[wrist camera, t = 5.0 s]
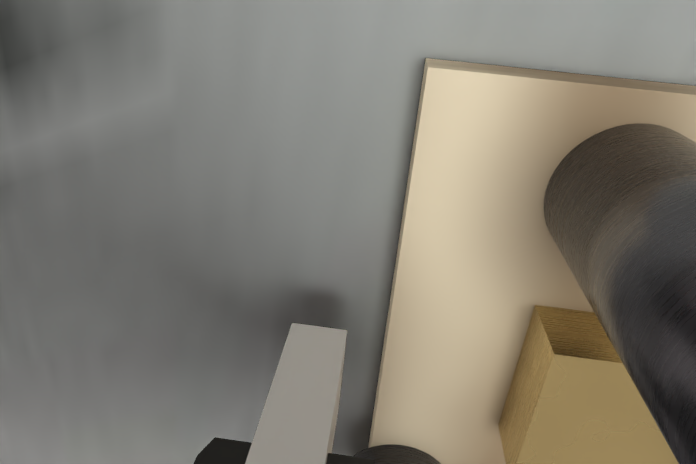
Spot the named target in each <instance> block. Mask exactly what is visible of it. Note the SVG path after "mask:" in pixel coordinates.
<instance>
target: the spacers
mask: <svg viewBox="0 0 696 464" xmlns="http://www.w3.org/2000/svg"><path fill="white" fill-rule="evenodd" d="M543 209H544V218H545V222H546V225H547V228H548V230H549V232H550V234H551V236H552V238H553V240H554V241H555V243H556V245H557V247H558V248H559V250H560V252H561V254H562V256H563V257H564V259H565V261H566V263H567V265H568V266H569V268H570V270H571V272H572V274H573V275H574V277H575V279H576V281H577V282H578V284H579V286H580V288H581V290H582V291H583V293H584V295H585V297H586V299H587V300H588V302H589V304H590V306H591V308H592V309H593V311H594V313H595V315H596V316H597V318H598V320H599V322H600V324H601V325H602V327H603V329H604V331H605V333H606V334H607V336H608V338H609V340H610V342H611V343H612V345H613V347H614V349H615V350H616V352H617V354H618V356H619V358H620V359H621V361H622V363H623V365H624V367H625V368H626V370H627V372H628V374H629V376H630V377H631V379H632V381H633V383H634V384H635V386H636V388H637V390H638V392H639V393H640V395H641V397H642V399H643V401H644V402H645V404H646V406H647V408H648V410H649V411H650V413H651V415H652V417H653V418H654V420H655V422H656V424H657V426H658V427H659V429H660V431H661V433H662V435H663V436H664V438H665V440H666V442H667V444H668V445H669V447H670V449H671V451H672V452H673V454H674V456H675V458H676V460H677V461H678V463H679V464H696V142H694V141H692V140H691V139H689V138H687V137H685V136H684V135H682V134H680V133H678V132H676V131H674V130H672V129H670V128H667V127H663V126H660V125H654V124H645V123H635V124H626V125H620V126H616V127H612V128H609V129H606V130H604V131H601V132H599V133H597V134H594V135H593V136H591V137H589V138H588V139H586V140H584V141H583V142H581V143H580V144H579V145H577V146H576V147H575V148H574V149H572V150H571V151H570V152H569V153H568V154H567V155H566V156H565V157H564V158H563V160H562V161H561V162H560V163H559V165H558V166H557V168H556V169H555V170H554V172H553V174H552V176H551V178H550V180H549V182H548V185H547V188H546V191H545V196H544V206H543ZM353 457H359V458H365V459H372V460H373V461H374V463H375V464H440V462H439V461H437V460H436V459H435V458H434V457H432V456H431V455H429V454H427V453H426V452H424V451H421V450H419V449H416V448H413V447H409V446H404V445H395V444H387V445H379V446H374V447H370V448H367V449H365V450H362V451H361V452H359V453H357V454H356V455H354V456H353Z"/></svg>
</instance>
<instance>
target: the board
mask: <svg viewBox="0 0 696 464" xmlns="http://www.w3.org/2000/svg"><path fill="white" fill-rule="evenodd" d="M635 123H645V124H654V125H660V126H663V127H667V128H670V129H672V130H674V131H676V132H678V133H680V134H682V135H684V136H685V137H687V138H689V139H691V140H692V141H694V142H696V86H691V85H682V84H672V83H662V82H652V81H643V80H633V79H623V78H614V77H604V76H594V75H585V74H575V73H565V72H556V71H546V70H536V69H526V68H517V67H507V66H497V65H488V64H478V63H468V62H459V61H449V60H439V59H430V58H426V60H425V67H424V73H423V80H422V87H421V94H420V100H419V107H418V114H417V121H416V128H415V134H414V141H413V148H412V155H411V162H410V168H409V175H408V182H407V189H406V195H405V202H404V209H403V216H402V223H401V229H400V236H399V243H398V250H397V256H396V263H395V270H394V277H393V284H392V290H391V297H390V304H389V311H388V317H387V324H386V331H385V338H384V345H383V351H382V358H381V365H380V372H379V378H378V385H377V392H376V399H375V406H374V412H373V419H372V426H371V433H370V440H369V446H368V448H370V447H374V446H379V445H387V444H395V445H404V446H409V447H413V448H416V449H419V450H421V451H424V452H426V453H427V454H429V455H431V456H432V457H434V458H435V459H436V460H437V461H439V462H440V464H506V462H505V457H504V452H503V447H502V442H501V437H500V432H499V427H498V424H499V420H500V417H501V414H502V411H503V407H504V404H505V401H506V398H507V394H508V391H509V388H510V385H511V381H512V378H513V375H514V371H515V368H516V365H517V362H518V358H519V355H520V352H521V349H522V345H523V342H524V339H525V336H526V332H527V329H528V326H529V322H530V319H531V316H532V313H533V309H534V306H535V305H540V306H548V307H556V308H564V309H572V310H580V311H587V312H594V311H593V309H592V308H591V306H590V304H589V302H588V300H587V299H586V297H585V295H584V293H583V291H582V290H581V288H580V286H579V284H578V282H577V281H576V279H575V277H574V275H573V274H572V272H571V270H570V268H569V266H568V265H567V263H566V261H565V259H564V257H563V256H562V254H561V252H560V250H559V248H558V247H557V245H556V243H555V241H554V240H553V238H552V236H551V234H550V232H549V230H548V228H547V225H546V222H545V218H544V209H543V206H544V196H545V191H546V188H547V185H548V182H549V180H550V178H551V176H552V174H553V172H554V170H555V169H556V168H557V166H558V165H559V163H560V162H561V161H562V160H563V158H564V157H565V156H566V155H567V154H568V153H569V152H570V151H571V150H572V149H574V148H575V147H576V146H577V145H579V144H580V143H581V142H583V141H584V140H586V139H588V138H589V137H591V136H593V135H594V134H597V133H599V132H601V131H604V130H606V129H609V128H612V127H616V126H620V125H626V124H635Z"/></svg>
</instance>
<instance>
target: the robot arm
mask: <svg viewBox="0 0 696 464" xmlns="http://www.w3.org/2000/svg"><path fill="white" fill-rule="evenodd" d="M346 338H347V330H342V329H334V328H327V327H319V326H312V325H305V324H297V323H292V324H291V327H290V330H289V333H288V336H287V339H286V342H285V345H284V348H283V351H282V354H281V357H280V360H279V363H278V366H277V369H276V372H275V375H274V378H273V381H272V384H271V387H270V390H269V393H268V396H267V399H266V402H265V405H264V408H263V411H262V414H261V417H260V420H259V423H258V426H257V429H256V432H255V435H254V438H253V441H252V443H248V442H242V441H235V440H228V439H221V438H214V439H213V440H212V441H211V442H210V443H209V444H208V445H207V446H206V447H205V448H204V449H203V450H202V451H201V452H200V453H199V454H198V456H197V457H196V460H195V462H194V464H375V463H374V461H373V460H372V459H365V458H359V457H352V456H345V455H338V454H332V448H333V442H334V436H335V429H336V423H337V417H338V410H339V403H340V394H341V385H342V375H343V366H344V356H345V347H346Z"/></svg>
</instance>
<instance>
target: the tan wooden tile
mask: <svg viewBox="0 0 696 464" xmlns="http://www.w3.org/2000/svg"><path fill="white" fill-rule="evenodd" d="M498 427H499V432H500V437H501V442H502V447H503V452H504V457H505V462H506V464H679V463H678V461H677V460H676V458H675V456H674V454H673V452H672V451H671V449H670V447H669V445H668V444H667V442H666V440H665V438H664V436H663V435H662V433H661V431H660V429H659V427H658V426H657V424H656V422H655V420H654V418H653V417H652V415H651V413H650V411H649V410H648V408H647V406H646V404H645V402H644V401H643V399H642V397H641V395H640V393H639V392H638V390H637V388H636V386H635V384H634V383H633V381H632V379H631V377H630V376H629V374H628V372H627V370H626V368H625V367H624V365H623V363H622V361H621V359H620V358H619V356H618V354H617V352H616V350H615V349H614V347H613V345H612V343H611V342H610V340H609V338H608V336H607V334H606V333H605V331H604V329H603V327H602V325H601V324H600V322H599V320H598V318H597V316H596V315H595V313H594V312H587V311H580V310H572V309H564V308H556V307H548V306H540V305H535V306H534V309H533V313H532V316H531V319H530V322H529V326H528V329H527V332H526V336H525V339H524V342H523V345H522V349H521V352H520V355H519V358H518V362H517V365H516V368H515V371H514V375H513V378H512V381H511V385H510V388H509V391H508V394H507V398H506V401H505V404H504V407H503V411H502V414H501V417H500V420H499V424H498Z"/></svg>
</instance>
